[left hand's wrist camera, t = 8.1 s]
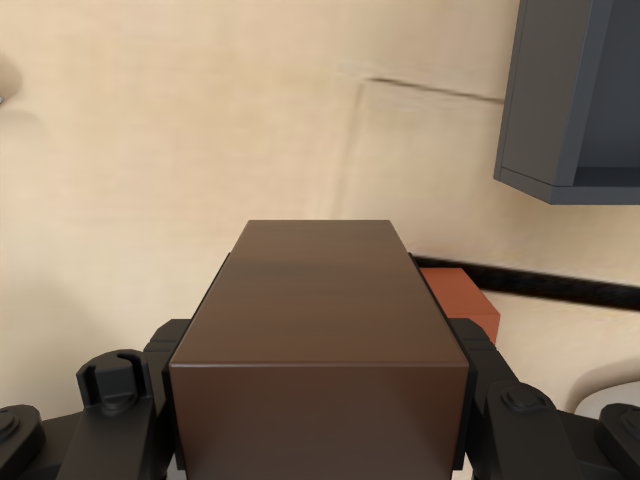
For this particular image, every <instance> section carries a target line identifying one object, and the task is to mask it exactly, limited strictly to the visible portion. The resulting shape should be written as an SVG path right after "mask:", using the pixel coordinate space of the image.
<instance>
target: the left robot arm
mask: <svg viewBox="0 0 640 480" xmlns="http://www.w3.org/2000/svg"><path fill="white" fill-rule="evenodd" d="M408 254H409V256H410V258H411V260H412V261H413V263H414V265H415V267H416V269H417V270H418V272H419V274H420V276H421V278H422V279H423V281H424V283H425V285H426V287H427V289H428V290H429V292H430V294H431V296H432V298H433V299H434V301H435V303H436V305H437V307H438V308H439V310H440V312H441V314H442V316H443V318H444V319H445V321H446V323H447V325H448V327H449V328H450V330H451V332H452V334H453V336H454V337H455V339H456V341H457V343H458V345H459V346H460V348H461V350H462V352H463V354H464V356H465V357H466V359H467V361H468V363H469V369H468V375H467V382H466V388H465V395H464V401H463V408H462V414H461V421H460V427H459V434H458V440H457V447H456V453H455V459H454V466H453V470H463V464H464V457H465V451H466V454H467V456H468V459H469V461H470V463H471V466H472V468H473V473H472V479H471V480H640V407H638V406H635V405H631V404H624V403H613V404H607V405H606V406H605V407H604V408H602V409H601V412H600V415H599V419H594V418H589V417H585V416H580V415H576V414H571V413H567V412H564V411H560V410H557V409H556V407H555V405H554V404H553V402H552V401H551V400H550V398H549V397H547V396H546V395H545V394H544V393H542V392H541V391H540V390H538V389H536V388H534V387H532V386H530V385H528V384H525V383H521V382H519V380H518V379H517V377H516V376H515V374H514V373H513V371H512V370H511V369H510V367H509V366H508V364H507V363H506V361H505V360H504V358H503V357H502V356H501V354H500V353H499V351H497V350H496V347H495V345H494V344H493V343H492V341H490V338H489V337H488V335H487V334H486V333H485V331H484V330H483V328H482V327H481V326H479V325H478V324H476V323H475V322H473V321H472V320H471V319H469V318H448V317H447V315H446V314H445V312H444V310H443V308H442V307H441V305H440V303H439V301H438V300H437V298H436V296H435V294H434V293H433V291H432V289H431V287H430V286H429V284H428V282H427V280H426V279H425V277H424V275H423V273H422V272H421V270H420V268H419V266H418V265H417V263H416V261H415V259H414V258H413V256H412V254H411V253H408ZM229 255H230V253H229V254H228V255H227V257H226V259H225V261H224V262H223V264H222V266H221V268H220V269H219V271H218V273H217V275H216V276H215V278H214V280H213V282H212V283H211V285H210V287H209V289H208V290H207V292H206V294H205V296H204V297H203V299H202V301H201V303H200V304H199V306H198V308H197V310H196V311H195V313H194V315H193V317H192V318H191V319H171V320H170V321H168V322H167V323H165V324H164V325H163V326H161V327H160V328H158V329H157V331H156V332H155V334H154V335H153V337H152V338H151V339H150V343H148V344H147V345H146V347H145V348H144V350H143V352H141V351H137V350H133V349H124V350H116V351H112V352H107V353H104V354H102V355H100V356H97V357H95V358H93V359H92V360H90V361H89V362H87V363H86V364H84V365H83V366H82V367H81V368H80V370H79V371H78V372H77V373H76V377H77V381H78V385H79V388H80V392H81V396H82V400H83V404H84V410H83V411H82V412H78V413H75V414H72V415H67V416H63V417H58V418H54V419H49V420H45V421H42V420H41V417H40V413H39V411H38V410H37V409H36V408H34V407H33V406H28V405H15V406H8V407H5V408H1V409H0V480H186V473H185V467H184V460H183V454H182V448H181V441H180V435H179V428H178V422H177V416H176V409H175V403H174V397H173V390H172V384H171V377H170V371H169V363H170V360H171V359H172V357H173V355H174V353H175V352H176V350H177V348H178V346H179V344H180V343H181V341H182V339H183V337H184V335H185V334H186V332H187V330H188V328H189V326H190V325H191V323H192V321H193V319H194V318H195V316H196V314H197V312H198V310H199V309H200V307H201V305H202V303H203V301H204V300H205V298H206V296H207V294H208V292H209V291H210V289H211V287H212V285H213V284H214V282H215V280H216V278H217V276H218V275H219V273H220V271H221V269H222V267H223V266H224V264H225V262H226V260H227V258H228V257H229Z"/></svg>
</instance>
